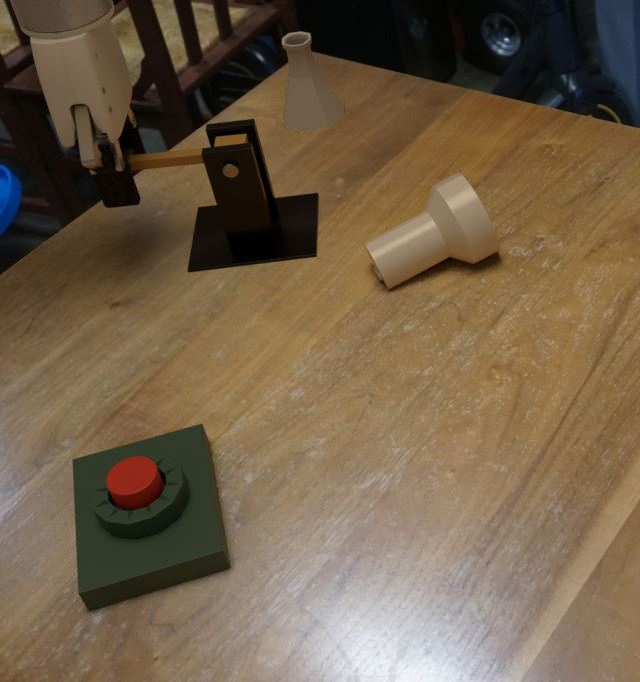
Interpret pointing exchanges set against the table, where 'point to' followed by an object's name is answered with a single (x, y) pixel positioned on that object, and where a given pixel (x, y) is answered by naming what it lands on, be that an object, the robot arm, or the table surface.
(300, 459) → the table surface
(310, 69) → the flask
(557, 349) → the table surface
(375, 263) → the spotlight
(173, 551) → the control box
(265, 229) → the bracket
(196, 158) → the hammer
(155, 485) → the button
